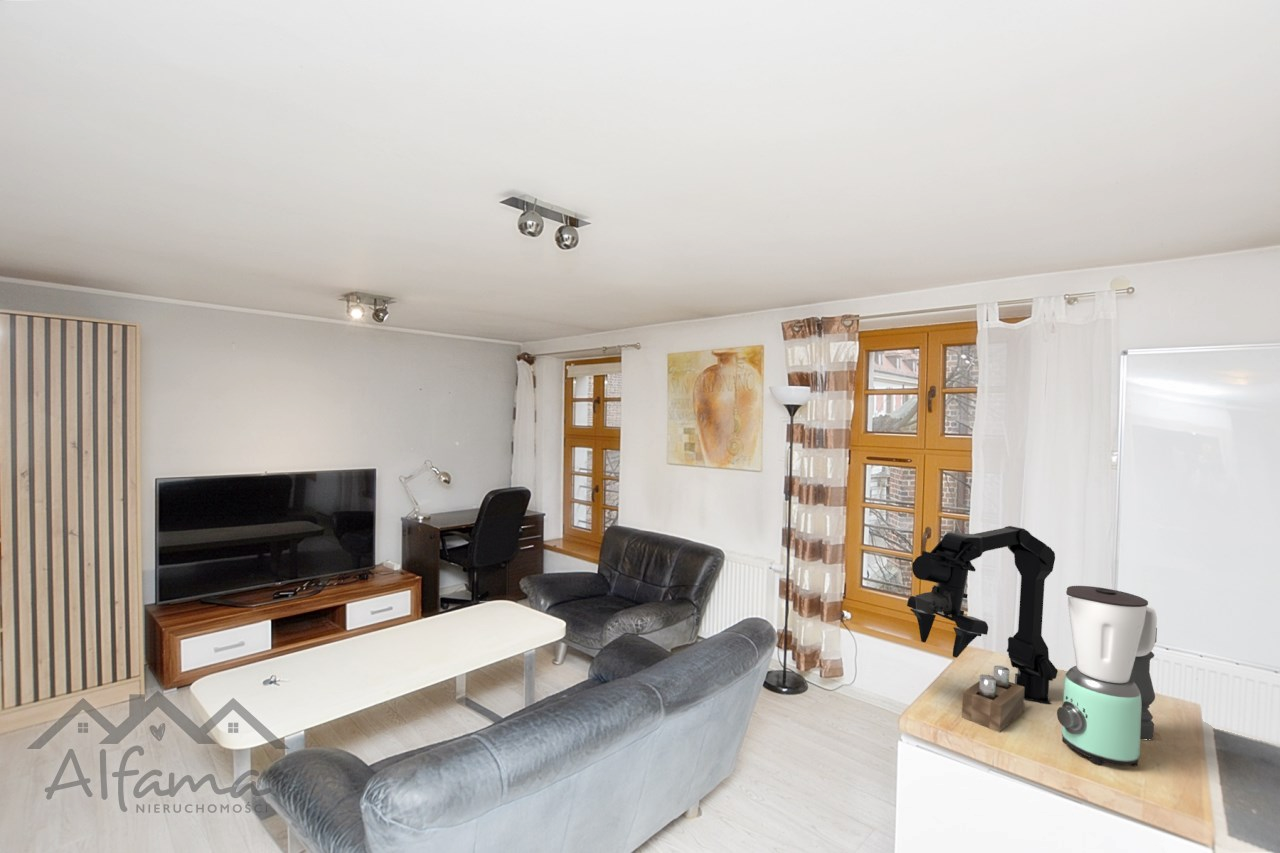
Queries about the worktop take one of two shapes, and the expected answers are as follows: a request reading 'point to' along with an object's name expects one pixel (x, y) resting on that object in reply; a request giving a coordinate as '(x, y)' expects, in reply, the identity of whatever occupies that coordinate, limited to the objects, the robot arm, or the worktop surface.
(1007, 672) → the back peg
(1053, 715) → the worktop surface
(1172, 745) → the worktop surface
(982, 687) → the front peg
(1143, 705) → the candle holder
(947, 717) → the worktop surface
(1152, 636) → the mint green blender
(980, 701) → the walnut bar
